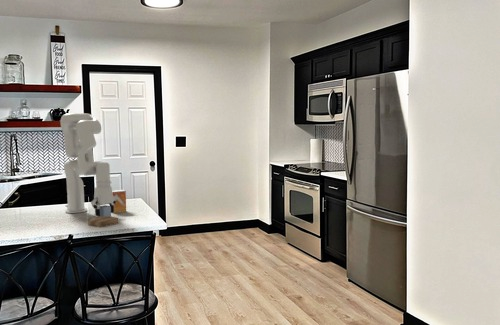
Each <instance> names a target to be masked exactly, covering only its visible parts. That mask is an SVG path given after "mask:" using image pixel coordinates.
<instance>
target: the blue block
mask: <svg viewBox="0 0 500 325" xmlns="http://www.w3.org/2000/svg"><path fill="white" fill-rule="evenodd" d="M99 209H100V216H97V217H101V216H110V217H112V213H111V206H110V205H108V204H105V205H100V207H99Z"/></svg>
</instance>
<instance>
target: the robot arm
mask: <svg viewBox="0 0 500 325" xmlns="http://www.w3.org/2000/svg"><path fill="white" fill-rule="evenodd" d="M60 127H61V131H62V134H63V137H64V138H63V140H64V150H65V155H66V156H67V158H69V159H71V158H72V160H67V161H66V162H65V163H64V165H63V169H64V174H65V178H66V193H67V195H66V196H67V204H66V205H65V207H66V208H67V209H65V213H67V214H80V213H85V212H87V211H88V208H87V207H85V190H84V189H85V188H84V187H85V186H84V181H83V179H82V178H81V176H86V177H87V176H95V183H96V184H95V185H96V187H94V194H93V200H91V202H90V204H91V206H92V208H93V209H94V215H95V216H97V217H98V216H100V209H99V207H100V206H104V205H108V206H111V214H115V213H114V204H115V203H116V199H117V198H116V197H114V196H113V193H112V191H113V188H112V185H111V184H112V181H111V173H110V163H109V162H104V161H94V150H93V149H94V148H95V147H96V146H97V141H96V138H95V135H99V134H100V133H101V132H102V125H101V123H100V121H99V120H98V119H97V118H96V117H94V116H93V115H92V114H91V113H85V112H84V113H79V112H77V113H76V112H75V113H72V112H70V113H65V114H63V115H61V118H60Z"/></svg>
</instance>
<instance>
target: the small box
mask: <svg viewBox="0 0 500 325" xmlns="http://www.w3.org/2000/svg"><path fill="white" fill-rule="evenodd" d="M126 191H127V190H125V189H115V190H112V193H113V196H114V197H116V198H117V199H116V203H115V204H114V213H113V214H117V213H118V214H119V213H126V212H127V192H126Z"/></svg>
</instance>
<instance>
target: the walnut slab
mask: <svg viewBox="0 0 500 325" xmlns="http://www.w3.org/2000/svg"><path fill="white" fill-rule="evenodd" d="M116 224H119V217H116V216H111V217H110V216H101V217H98V216H97V217H93V218H89V219H87V225H88V226H92V227H99V228H103V227H109V226H112V225H116Z"/></svg>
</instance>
